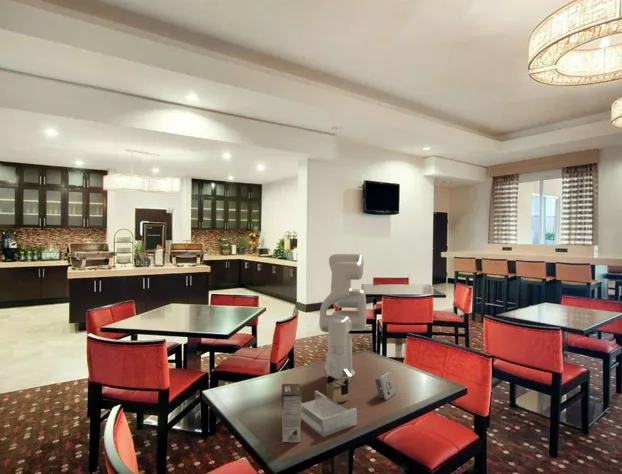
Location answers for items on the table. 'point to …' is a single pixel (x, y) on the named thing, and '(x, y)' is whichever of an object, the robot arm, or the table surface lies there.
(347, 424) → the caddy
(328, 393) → the tan cardboard box
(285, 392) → the coffee box
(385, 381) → the electrical switch
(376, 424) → the table surface
